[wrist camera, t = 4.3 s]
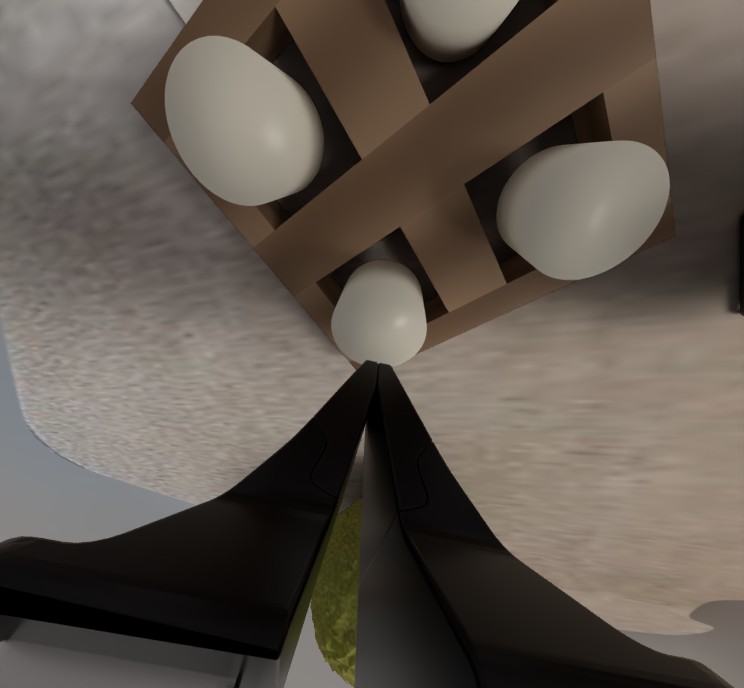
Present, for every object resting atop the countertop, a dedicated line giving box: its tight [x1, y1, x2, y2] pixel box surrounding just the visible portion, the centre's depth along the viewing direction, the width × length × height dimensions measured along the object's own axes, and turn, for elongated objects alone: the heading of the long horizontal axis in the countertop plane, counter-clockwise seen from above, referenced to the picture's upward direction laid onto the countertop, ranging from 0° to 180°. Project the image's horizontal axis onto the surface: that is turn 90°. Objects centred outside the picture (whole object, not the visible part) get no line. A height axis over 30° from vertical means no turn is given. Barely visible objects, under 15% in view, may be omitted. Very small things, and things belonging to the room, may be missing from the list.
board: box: [131, 0, 675, 370], centre depth 12 cm, size 16×16×2 cm
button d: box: [165, 36, 324, 206], centre depth 10 cm, size 4×4×3 cm
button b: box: [331, 260, 427, 367], centre depth 13 cm, size 4×4×3 cm
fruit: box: [311, 498, 362, 687], centre depth 24 cm, size 16×14×15 cm
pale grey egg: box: [496, 141, 670, 280], centre depth 10 cm, size 4×4×3 cm
